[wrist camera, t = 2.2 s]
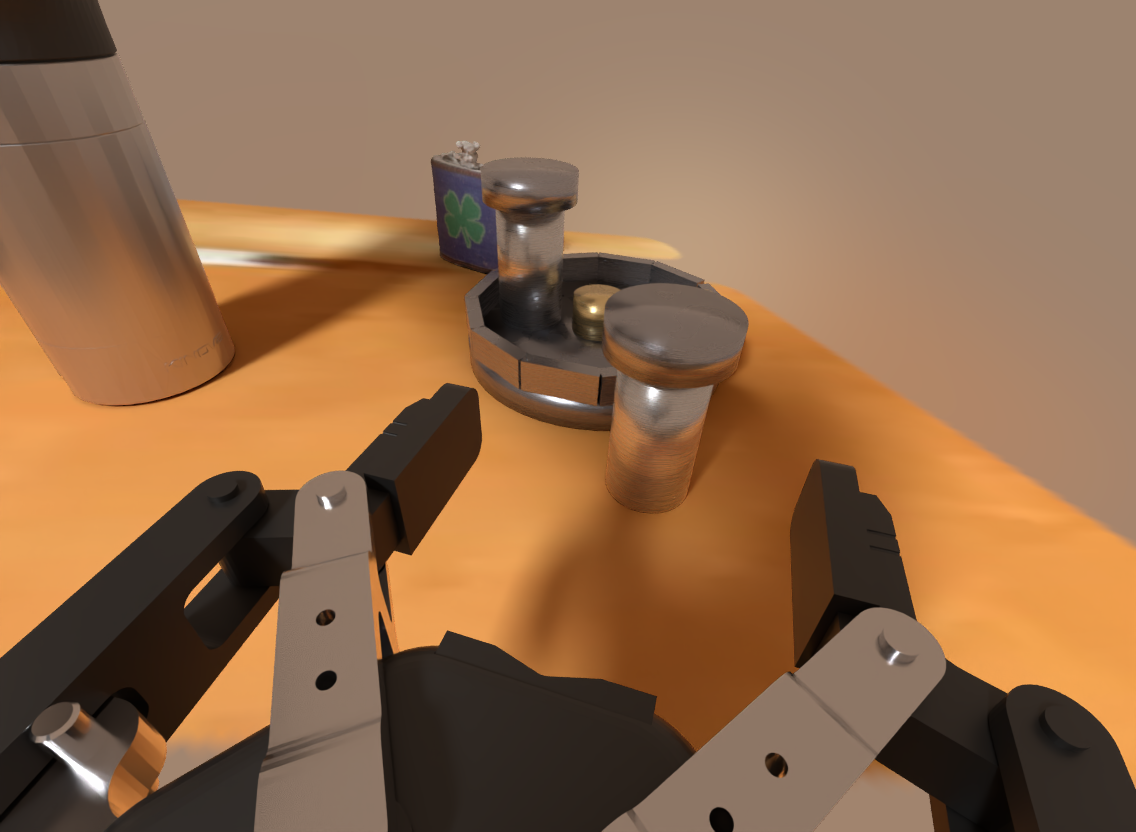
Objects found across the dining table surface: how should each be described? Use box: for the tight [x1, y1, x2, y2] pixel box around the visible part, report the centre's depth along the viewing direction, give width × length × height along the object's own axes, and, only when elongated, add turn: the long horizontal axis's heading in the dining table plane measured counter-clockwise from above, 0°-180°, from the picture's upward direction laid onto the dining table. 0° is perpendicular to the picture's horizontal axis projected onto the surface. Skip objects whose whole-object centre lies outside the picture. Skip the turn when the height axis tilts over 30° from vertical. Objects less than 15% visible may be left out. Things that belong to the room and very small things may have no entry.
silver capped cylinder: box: [601, 283, 748, 513], centre depth 26 cm, size 6×6×10 cm
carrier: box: [465, 158, 720, 431], centre depth 35 cm, size 18×18×12 cm
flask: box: [431, 141, 498, 274], centre depth 48 cm, size 9×3×11 cm, turn 54°
